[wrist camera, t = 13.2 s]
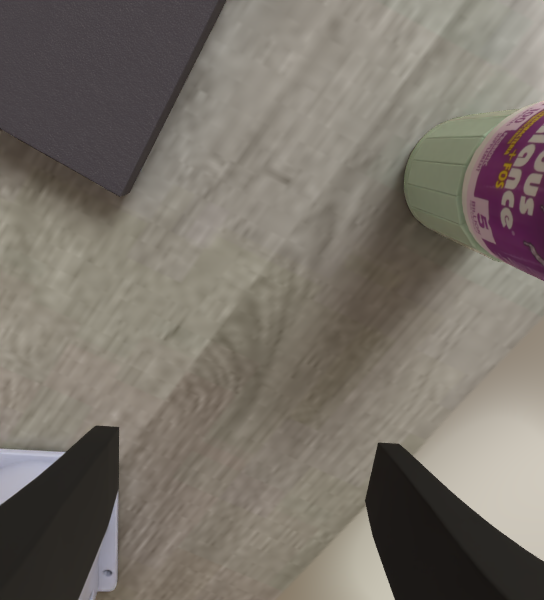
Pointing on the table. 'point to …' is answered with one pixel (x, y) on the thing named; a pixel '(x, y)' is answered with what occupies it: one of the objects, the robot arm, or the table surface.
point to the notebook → (97, 77)
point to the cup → (447, 175)
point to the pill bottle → (509, 191)
